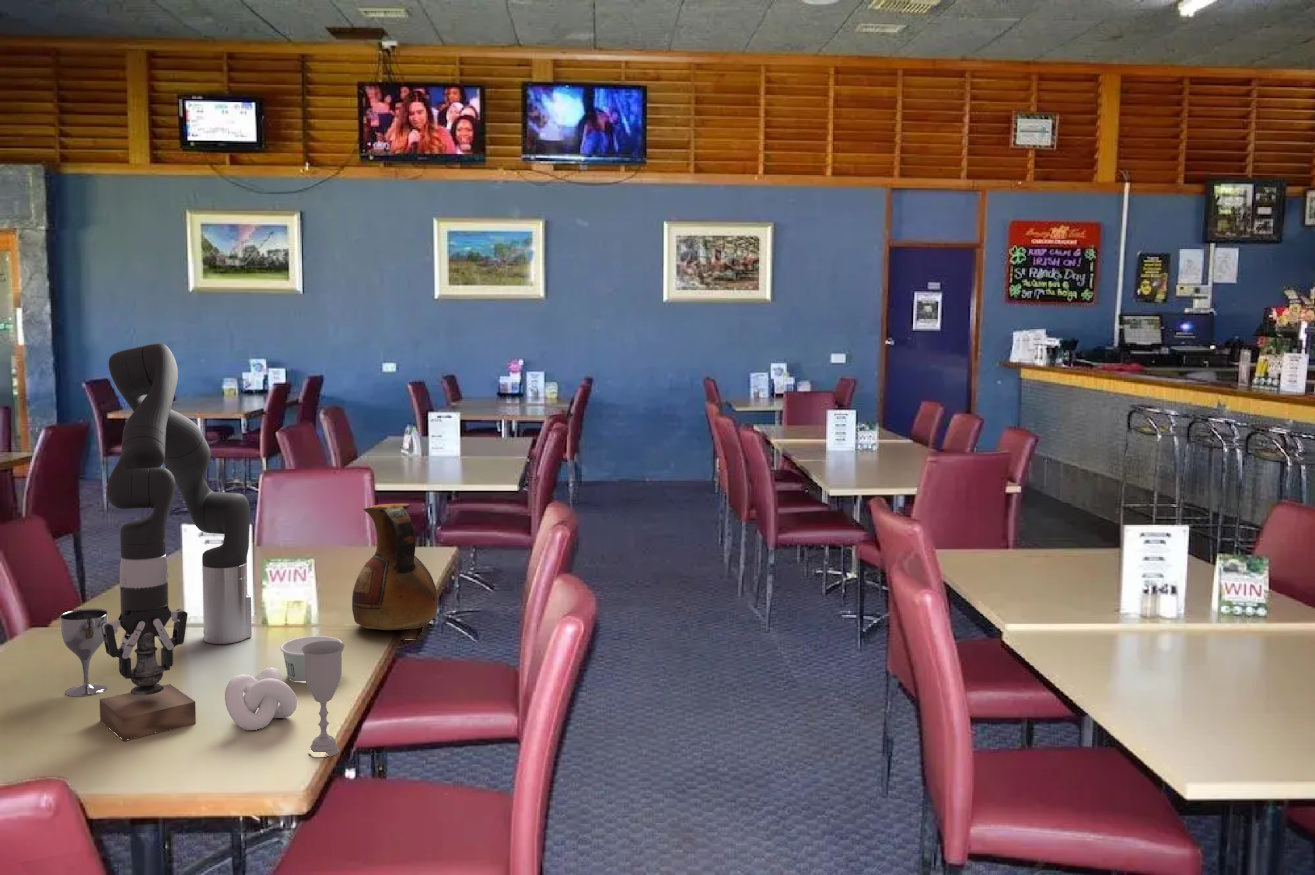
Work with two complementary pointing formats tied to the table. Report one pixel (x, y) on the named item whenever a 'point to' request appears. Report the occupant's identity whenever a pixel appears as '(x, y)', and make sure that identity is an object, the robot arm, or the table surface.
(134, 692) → the salt shaker
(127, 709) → the walnut base
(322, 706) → the chalice
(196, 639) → the table surface
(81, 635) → the silver goblet
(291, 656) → the food container
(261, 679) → the white knot sculpture
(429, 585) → the ceramic pitcher
